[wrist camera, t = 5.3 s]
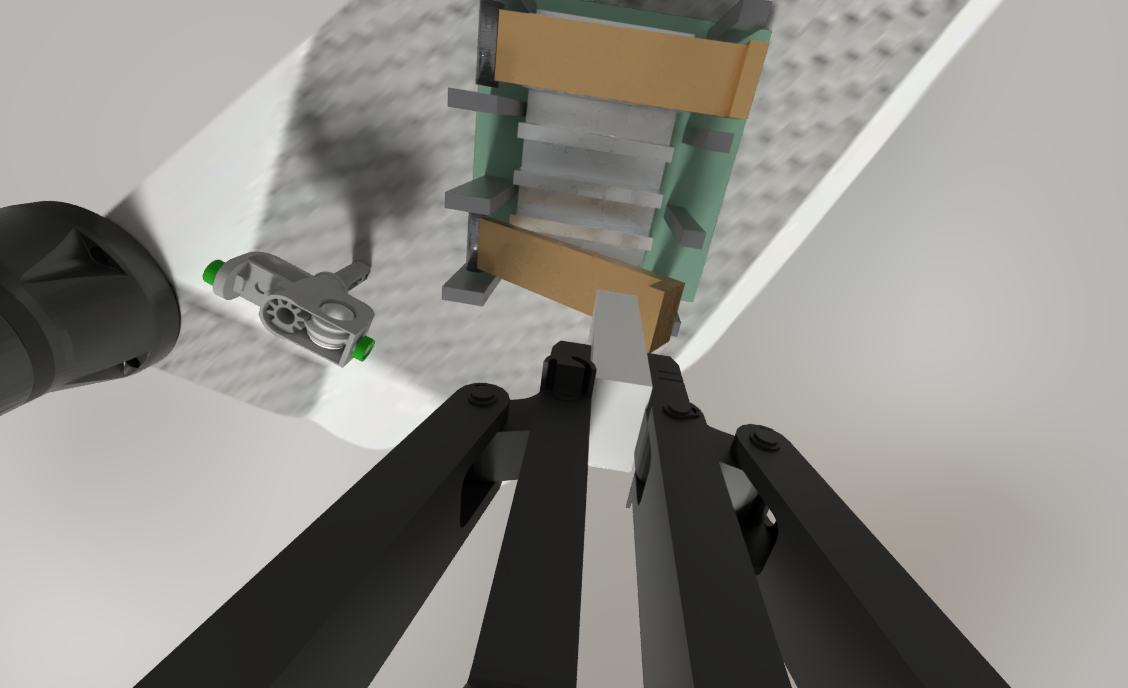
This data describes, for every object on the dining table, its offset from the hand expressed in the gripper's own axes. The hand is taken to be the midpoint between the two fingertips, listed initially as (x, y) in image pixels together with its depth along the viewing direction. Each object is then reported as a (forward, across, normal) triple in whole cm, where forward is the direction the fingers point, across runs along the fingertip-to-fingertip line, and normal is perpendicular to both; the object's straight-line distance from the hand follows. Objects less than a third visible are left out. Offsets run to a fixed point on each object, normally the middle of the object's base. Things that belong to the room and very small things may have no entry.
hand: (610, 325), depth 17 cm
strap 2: (+8, -2, -1) cm, 8 cm away
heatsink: (+17, -2, +4) cm, 17 cm away
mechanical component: (+18, -19, -6) cm, 27 cm away
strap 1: (+11, -2, +9) cm, 15 cm away
